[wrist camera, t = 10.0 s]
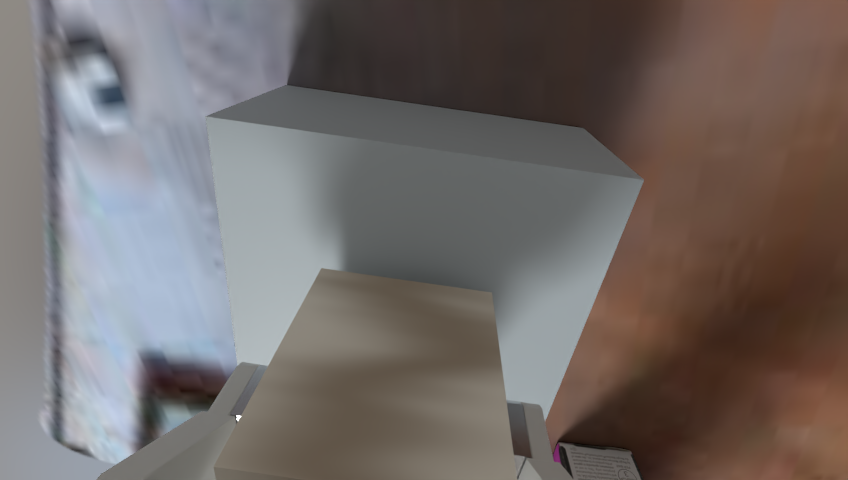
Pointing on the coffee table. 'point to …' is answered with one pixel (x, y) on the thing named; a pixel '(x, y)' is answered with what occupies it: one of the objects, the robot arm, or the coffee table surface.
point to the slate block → (417, 216)
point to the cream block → (379, 389)
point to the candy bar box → (597, 462)
